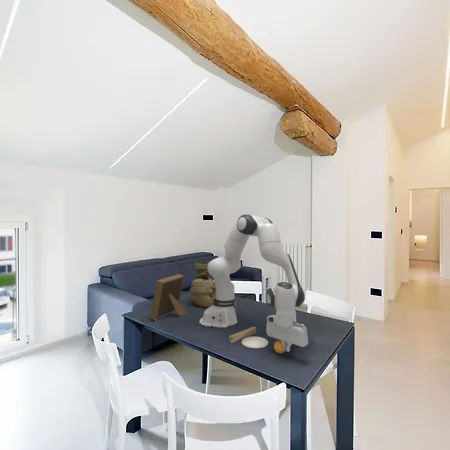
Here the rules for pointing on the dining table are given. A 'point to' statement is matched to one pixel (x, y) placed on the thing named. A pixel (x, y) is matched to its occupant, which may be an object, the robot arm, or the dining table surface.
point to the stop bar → (242, 334)
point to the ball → (279, 347)
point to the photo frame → (167, 296)
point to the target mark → (254, 342)
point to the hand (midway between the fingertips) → (286, 350)
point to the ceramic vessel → (203, 286)
